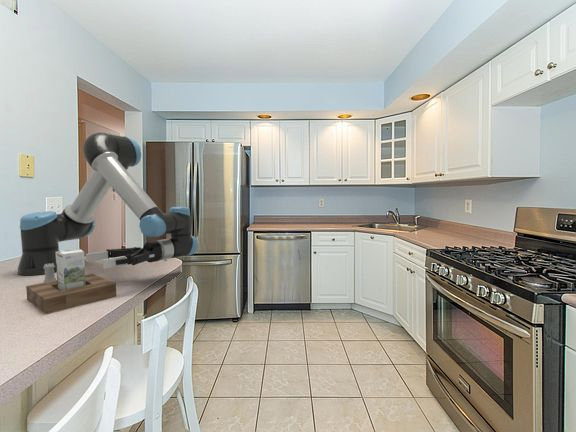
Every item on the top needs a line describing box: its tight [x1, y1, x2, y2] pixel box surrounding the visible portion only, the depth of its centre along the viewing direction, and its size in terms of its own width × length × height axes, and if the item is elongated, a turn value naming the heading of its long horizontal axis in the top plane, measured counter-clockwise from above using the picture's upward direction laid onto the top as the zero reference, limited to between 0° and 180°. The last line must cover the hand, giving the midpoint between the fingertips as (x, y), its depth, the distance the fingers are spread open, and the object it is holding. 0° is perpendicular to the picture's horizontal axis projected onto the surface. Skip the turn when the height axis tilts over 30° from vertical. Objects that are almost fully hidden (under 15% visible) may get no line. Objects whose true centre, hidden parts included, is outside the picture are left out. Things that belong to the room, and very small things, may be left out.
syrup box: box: [56, 248, 86, 291], centre depth 97 cm, size 6×6×14 cm
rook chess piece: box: [42, 263, 57, 283], centre depth 107 cm, size 4×4×8 cm
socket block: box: [25, 273, 117, 315], centre depth 98 cm, size 18×18×4 cm
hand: (94, 261), depth 102 cm, fingers open, 13 cm apart
